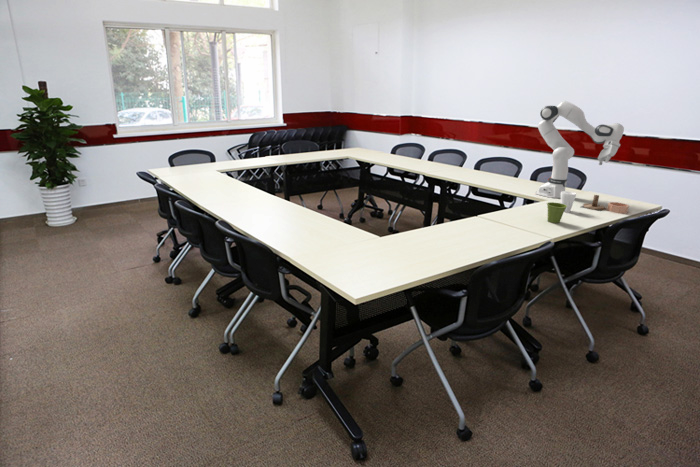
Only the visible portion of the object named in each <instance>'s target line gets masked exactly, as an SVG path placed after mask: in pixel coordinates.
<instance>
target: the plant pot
mask: <svg viewBox="0 0 700 467" xmlns="http://www.w3.org/2000/svg"><path fill="white" fill-rule="evenodd" d="M546 205H547V207H546V208H547V222H548V223H549V222H550V223H552V224H559V223H560V222H561V219H562V217H563V214H564V213H565V212H564V211H565V209H566V207H567V205H564V204H561V203H559V202H554V201H553V202H547V203H546Z"/></svg>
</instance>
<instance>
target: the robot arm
mask: <svg viewBox="0 0 700 467" xmlns="http://www.w3.org/2000/svg"><path fill="white" fill-rule="evenodd" d="M585 116H586V115H585V112H584V111H583V110H582V108H580V107H578V106H577V105H575V104H574V103H571V102H569V101H566V100H563V101H561V102H560V103H558V105H557V106H556V105H545V106H544V107H542V108H541V110H540V117H541V119H542V120H541V121H540V122H539V123H538V124H537V128H538V131H539V133H540V136H541V137H542V138H543V140H544V141H545V143H546V144H547V146H548V147H550V148H551V149H552V150H553V152H552V156H551V157H552V172H551V176H550V177H549V178H548V179H547V182H545V183H543V184H541V185H540V186H539V188H538V189H537V190H536V191H535V192H534V194H535V195H539V196H543V197H546V198H551V199H561V192H562V191H566V187H567V183H568V174H569V160H570V159H572V158H573V157H574V155H575V149H574V148H573V147H572V146H571V145H570V143H568V142H567V141H566V140H565V139H564V137H562V135H561V133H560V132H559V131H558V129H557V127H556V126H555V125H554V122H555V121H556V120H557V119H558V118H559V117H563V118H564V119H566V120H567V121H568V122H570V123H572V124H573V125H574V126H577V127H578V128H579V129H580V130H581V131H582V132H584V133H585V134H587V136H589V137H590V139H592V142H594V144H598V145H602V147H603V149H602V150H601V151H600V153H599V155H598V156H597V160H598V162H599V163H598V165H599V166H602V165H603V162H604V163H609V161H610V160H611V158H612V157H614V156H615V155H616V153H617V152H618V149H619V148H620V147H621V143H620V140H621V139H622V137H623V134H624V130H625V127H624V126H623V124H620V123H617V122H615V123H611V124H599V125H597V126H596V127H595V126H593V125H592V124H590V123H589V122H588V121H587V119H586V117H585Z"/></svg>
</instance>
